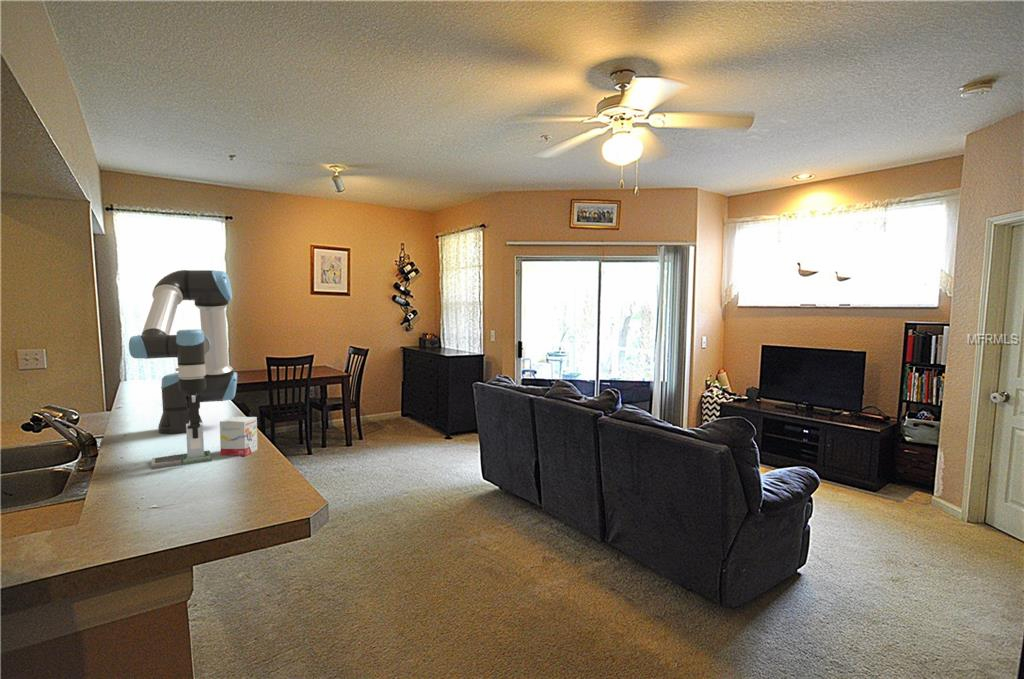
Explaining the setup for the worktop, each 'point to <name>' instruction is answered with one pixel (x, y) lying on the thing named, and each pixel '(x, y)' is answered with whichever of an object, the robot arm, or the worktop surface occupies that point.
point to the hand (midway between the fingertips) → (195, 443)
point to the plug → (198, 451)
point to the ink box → (238, 436)
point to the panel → (178, 460)
